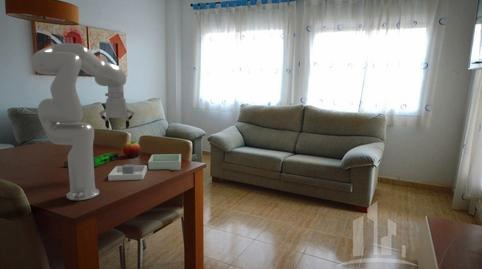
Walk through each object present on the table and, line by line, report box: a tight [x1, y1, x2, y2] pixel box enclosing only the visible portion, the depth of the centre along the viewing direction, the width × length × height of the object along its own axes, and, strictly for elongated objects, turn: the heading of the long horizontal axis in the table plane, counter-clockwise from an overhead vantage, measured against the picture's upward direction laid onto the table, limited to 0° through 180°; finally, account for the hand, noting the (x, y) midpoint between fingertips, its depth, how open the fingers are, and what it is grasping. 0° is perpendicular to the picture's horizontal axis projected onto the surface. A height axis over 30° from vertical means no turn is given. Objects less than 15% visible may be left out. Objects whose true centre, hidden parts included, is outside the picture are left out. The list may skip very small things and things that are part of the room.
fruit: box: [122, 140, 142, 158], centre depth 199 cm, size 11×11×10 cm
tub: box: [107, 164, 148, 181], centre depth 159 cm, size 16×16×4 cm
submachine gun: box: [63, 152, 120, 168], centre depth 183 cm, size 5×29×25 cm
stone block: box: [122, 163, 136, 174], centre depth 158 cm, size 5×5×5 cm
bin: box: [147, 153, 182, 171], centre depth 179 cm, size 17×17×5 cm
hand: (117, 128), depth 163 cm, fingers open, 9 cm apart
